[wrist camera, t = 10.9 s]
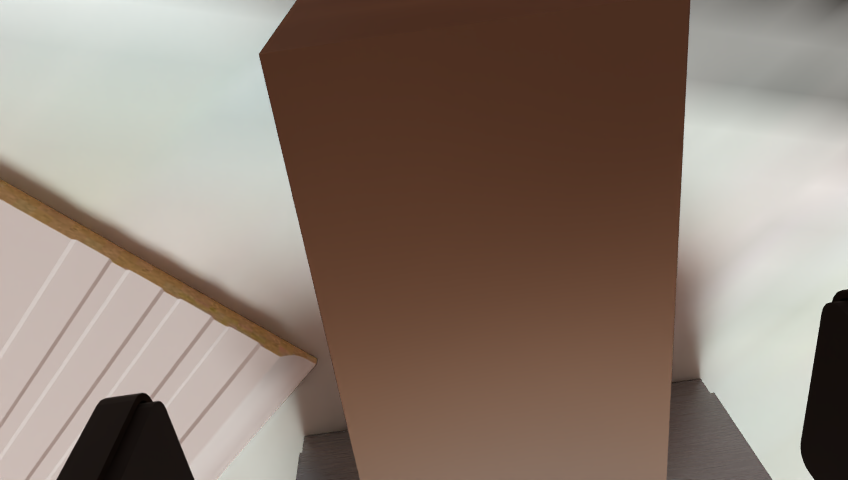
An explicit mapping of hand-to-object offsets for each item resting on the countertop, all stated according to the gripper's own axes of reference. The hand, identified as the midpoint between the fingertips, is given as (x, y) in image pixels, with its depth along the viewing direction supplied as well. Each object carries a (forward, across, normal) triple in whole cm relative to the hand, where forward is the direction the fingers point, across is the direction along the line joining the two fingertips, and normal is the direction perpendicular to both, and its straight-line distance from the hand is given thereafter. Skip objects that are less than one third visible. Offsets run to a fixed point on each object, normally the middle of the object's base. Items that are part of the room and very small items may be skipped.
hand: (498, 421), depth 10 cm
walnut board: (+10, 0, 0) cm, 10 cm away
